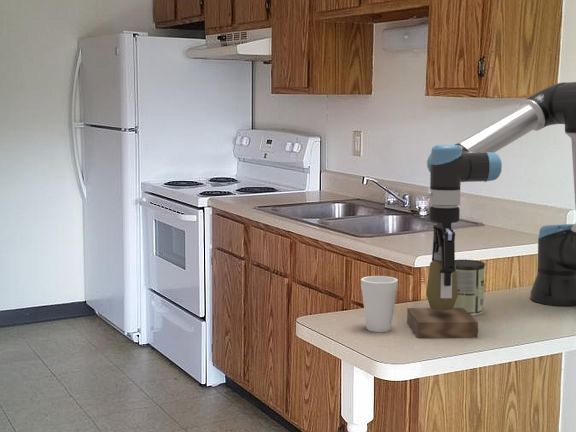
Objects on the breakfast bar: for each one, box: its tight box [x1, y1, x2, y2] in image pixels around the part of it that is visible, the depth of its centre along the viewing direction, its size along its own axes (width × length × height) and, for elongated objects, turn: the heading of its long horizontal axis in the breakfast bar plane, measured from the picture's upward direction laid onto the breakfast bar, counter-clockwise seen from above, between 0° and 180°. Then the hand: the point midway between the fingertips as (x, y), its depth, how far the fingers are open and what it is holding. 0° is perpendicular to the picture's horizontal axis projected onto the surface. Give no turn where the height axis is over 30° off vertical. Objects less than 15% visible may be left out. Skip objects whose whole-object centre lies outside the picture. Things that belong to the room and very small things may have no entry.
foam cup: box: [360, 275, 399, 333], centre depth 206 cm, size 10×9×13 cm
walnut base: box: [406, 307, 479, 339], centre depth 206 cm, size 15×15×4 cm
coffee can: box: [453, 259, 486, 317], centre depth 225 cm, size 10×10×14 cm
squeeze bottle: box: [425, 246, 458, 310], centre depth 204 cm, size 8×8×18 cm
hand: (442, 294), depth 205 cm, fingers closed on squeeze bottle, 8 cm apart
